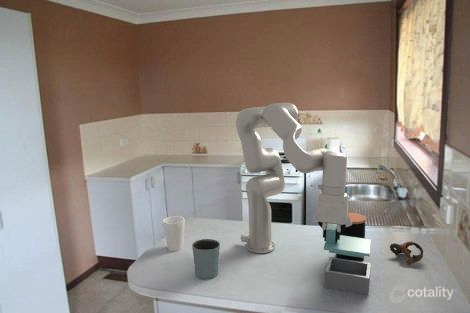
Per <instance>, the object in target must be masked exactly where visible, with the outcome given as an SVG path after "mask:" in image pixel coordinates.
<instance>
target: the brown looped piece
mask: <svg viewBox="0 0 470 313" xmlns="http://www.w3.org/2000/svg"><path fill="white" fill-rule="evenodd" d="M410 246H414V247H415V248H416V249H418V250H419V252H420V254H417V255H415V254H413V255H412V256H411V253H412V252H413V250H411V249H410V248H409V247H410ZM389 248H390V249H389V250H390V251H391V253H393V254H394V255H395V257H398V256H399V255H401V254H404V256H405V257H406V258H407V260H406V264H407V265H409V266H410V265H412V264H415V263H418V262H420V261H422V259H423V257H424V250H423V247H422V246H421V245H420V244H418V243H416V242H414V241H410V240H409V241H406V242H403V243H401V244H398V243H395V242H392V243H391V244H390V245H389Z"/></svg>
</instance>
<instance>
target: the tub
mask: <svg viewBox="0 0 470 313" xmlns="http://www.w3.org/2000/svg"><path fill="white" fill-rule="evenodd" d="M327 261H328V262H327V265H326V269H325V271H324V272H325V273H324V274H325V275H324V289H329V290H334V291H342V292H345V293H346V292H348V293H353V294H359V295H365V296H369V295H370V294H369V293H370V283H371V282H370V281H371V280H370V279H371V263H372V262H365V261H363V262H360V261H352V260H345V259H338V258H337V257H329V258H328V260H327Z"/></svg>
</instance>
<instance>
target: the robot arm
mask: <svg viewBox="0 0 470 313" xmlns="http://www.w3.org/2000/svg"><path fill="white" fill-rule="evenodd" d="M298 117H299V111H298V109H297V107H296V105H295V104H293V103H291V102H278V103H275V102H274V103H270V104H268V105H267V106H253V107H247V108H244V109H241V110H240V111H239V112H238V114H237V115H236V118H235V119H236V120H235V127H236V128H235V129H236V132H237V136H238V138H239V140H240V144H241V150H242V155H243V159H244V161H243V162H244V165H245V169H246V170H247V172H248V173H250V174H256V173H257V174H258V173H263V172H265V174H261V175H256V176H253V177H251V178H250V179H248V180H247V182H246V184H245V191H246V192H245V193H246V196H247V202H248V203H247V205H248V231H249V232H248V235H243V234H241V235H240V240H241V243H242V242H243V243H246V244H245V249H246V251H248V252H250V253H254V254H268V253H271V252H273V251H274V250H275V249H276V243H275V242H274V241H273V240H272V208H271V207H272V206H271V204H270V202H269V201H268V198H269V197H273V196H276V195H280V194H282V193H283V191H284V190H285V187H286V186H285V184H286V183H285V182H286V181H285V176H284V170H283V166H282V159H281V157H280V153H279V152H278V151H277V150H276V149H274V148H272V147H266V148H263V142H262V138H261V136H260V134H259V133H258V132H257V131H256V130H255V129H261V128H271V130H272V131H273V132H274V133H275V134H276V135H277V136H278V137H279V139H281V141H282V149H283V153H284V156H285V158H286V160H287V161H288V162H289V163H290V164H291V165H292V166H293V167H294V169H296V170H297V171H298V172H300V173H301V174H310V173H311V174H312V173H314V172H319V171H322V179H321V182H322V183H321V184H317V189H319V190H321V191H319V194H318V198H317V205H316V213H315V214H314V216H313V217H312V221H313V222H314V223H316V224H318V225H319V227H320V228H321V229H322V230H323V231H322V238H323V240H324V242H326V229H327V226H328V224H333V225H337V229H336V237H335V243H337V241H338V240H340V231H341V230H343V229H344V228H345V227H348V226H351V225H352V222H351V220H350V218H349V216H348V212H349V202H348V201H349V200H348V194H347V193H346V184H347V183H346V181H347V180H346V179H347V163H348V162H347V161H348V160H347V155H345V153H343V152H338V151H337V152H335V151H333V150H330V149H328V148H322V147H321V148H320V147H319V148H314V149H310V150H304V149H303V148H302V147H301V146H300V145H299V144H298V143H297V140H298V139H299V138H300V136H301V134H302V131H303V129H302V126H301V124H300V123H299V122H297V120H298Z"/></svg>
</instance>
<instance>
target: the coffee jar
mask: <svg viewBox="0 0 470 313" xmlns="http://www.w3.org/2000/svg"><path fill="white" fill-rule="evenodd" d="M348 216H349V218H350V220H351V222H352V225H351V226H348V227H345V228H344V229H343V230H341V231H340V235H342V236H350V237H357V238H364V239H366V219H367V218H366V216H365V215H363V214H361V213H357V212H351V211H350V212H349V211H348ZM335 258H338V259H345V260H352V261H360V262H364V260H365V257H364V258H361V257H355V256H348V255H342V254H335Z"/></svg>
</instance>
